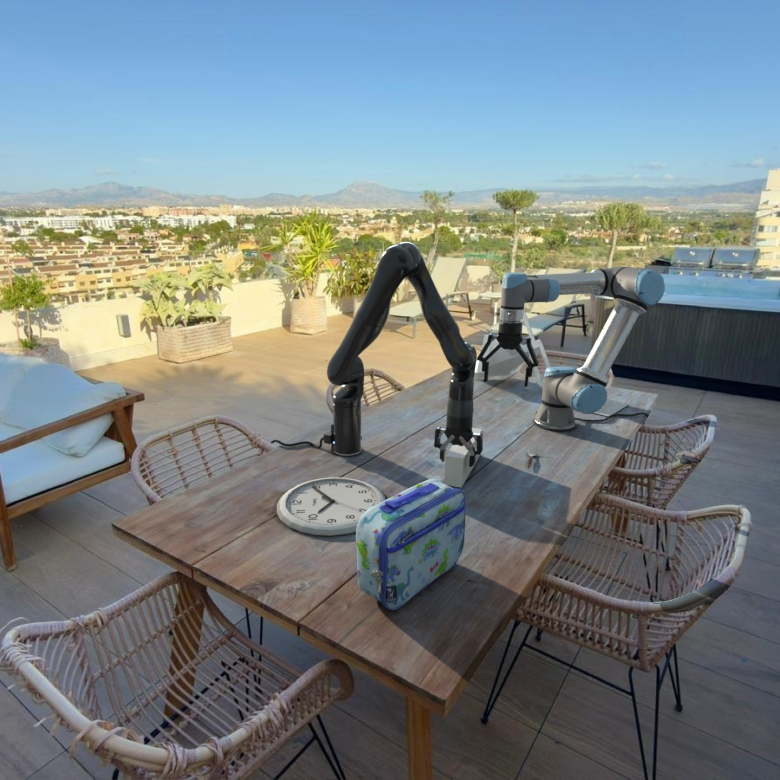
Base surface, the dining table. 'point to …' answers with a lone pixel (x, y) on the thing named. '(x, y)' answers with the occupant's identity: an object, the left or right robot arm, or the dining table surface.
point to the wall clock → (327, 505)
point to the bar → (459, 463)
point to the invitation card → (610, 408)
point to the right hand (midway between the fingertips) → (505, 383)
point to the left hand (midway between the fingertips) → (457, 463)
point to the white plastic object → (510, 357)
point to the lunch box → (409, 541)
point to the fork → (531, 456)
